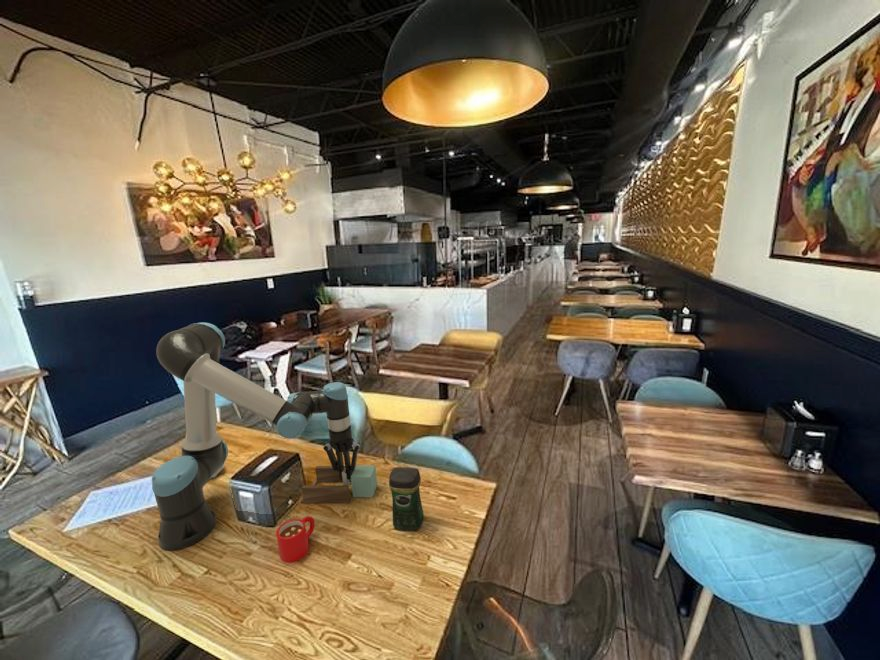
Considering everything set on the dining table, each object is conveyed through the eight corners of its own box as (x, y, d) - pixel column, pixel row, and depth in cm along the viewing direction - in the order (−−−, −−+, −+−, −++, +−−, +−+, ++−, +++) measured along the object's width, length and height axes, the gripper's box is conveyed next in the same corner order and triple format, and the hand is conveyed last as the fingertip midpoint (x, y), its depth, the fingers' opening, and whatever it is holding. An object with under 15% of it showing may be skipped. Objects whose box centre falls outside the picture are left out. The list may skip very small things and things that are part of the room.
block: (372, 497, 129) (370, 477, 127) (353, 497, 130) (350, 477, 128) (377, 484, 136) (375, 465, 134) (358, 484, 136) (356, 465, 135)
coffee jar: (425, 514, 120) (422, 463, 115) (420, 533, 112) (416, 479, 108) (397, 512, 121) (392, 462, 117) (389, 530, 114) (385, 477, 110)
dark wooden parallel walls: (348, 503, 127) (347, 488, 125) (300, 503, 128) (298, 488, 127) (359, 479, 139) (358, 465, 138) (315, 479, 141) (313, 465, 139)
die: (231, 472, 150) (225, 448, 153) (216, 474, 141) (210, 449, 144) (212, 481, 149) (206, 457, 152) (195, 483, 141) (190, 458, 144)
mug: (324, 535, 113) (321, 513, 111) (294, 566, 102) (290, 542, 101) (305, 528, 116) (302, 506, 115) (274, 557, 106) (269, 534, 104)
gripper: (361, 421, 131) (367, 480, 136) (325, 421, 132) (333, 480, 137) (354, 431, 123) (361, 493, 129) (317, 432, 124) (325, 493, 130)
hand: (346, 486), depth 133 cm, fingers closed
